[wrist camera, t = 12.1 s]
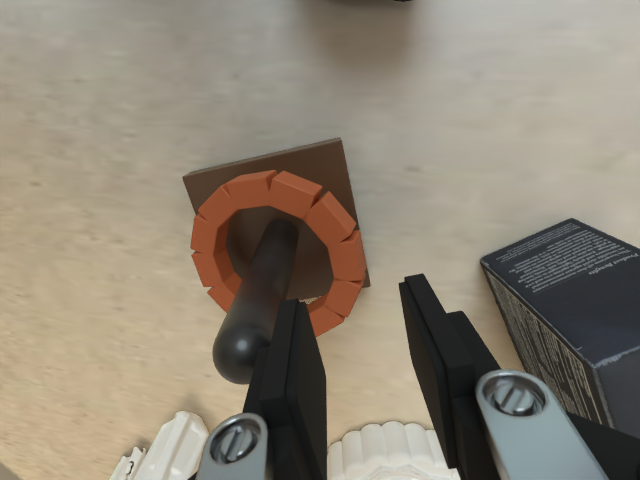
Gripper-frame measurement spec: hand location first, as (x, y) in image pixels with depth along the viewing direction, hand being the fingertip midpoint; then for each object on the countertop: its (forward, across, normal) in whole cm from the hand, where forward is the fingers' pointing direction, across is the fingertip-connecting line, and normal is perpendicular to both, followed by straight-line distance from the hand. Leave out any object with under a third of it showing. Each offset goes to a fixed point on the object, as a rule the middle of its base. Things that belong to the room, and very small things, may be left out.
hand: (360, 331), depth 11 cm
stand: (+12, +4, 0) cm, 13 cm away
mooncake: (+12, +1, +23) cm, 26 cm away
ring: (+8, +3, 0) cm, 8 cm away
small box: (+12, -12, +9) cm, 20 cm away
